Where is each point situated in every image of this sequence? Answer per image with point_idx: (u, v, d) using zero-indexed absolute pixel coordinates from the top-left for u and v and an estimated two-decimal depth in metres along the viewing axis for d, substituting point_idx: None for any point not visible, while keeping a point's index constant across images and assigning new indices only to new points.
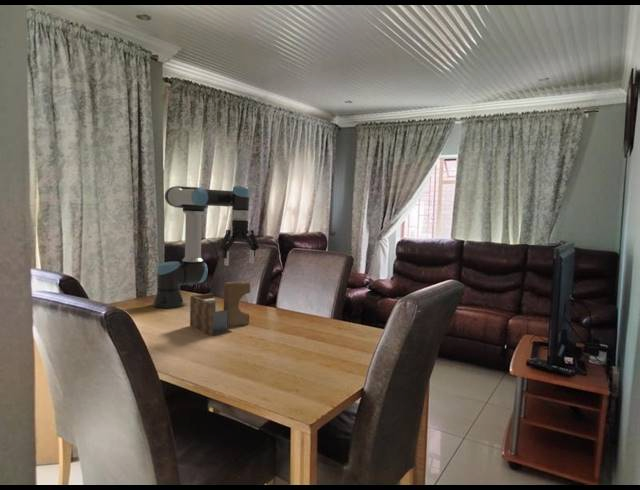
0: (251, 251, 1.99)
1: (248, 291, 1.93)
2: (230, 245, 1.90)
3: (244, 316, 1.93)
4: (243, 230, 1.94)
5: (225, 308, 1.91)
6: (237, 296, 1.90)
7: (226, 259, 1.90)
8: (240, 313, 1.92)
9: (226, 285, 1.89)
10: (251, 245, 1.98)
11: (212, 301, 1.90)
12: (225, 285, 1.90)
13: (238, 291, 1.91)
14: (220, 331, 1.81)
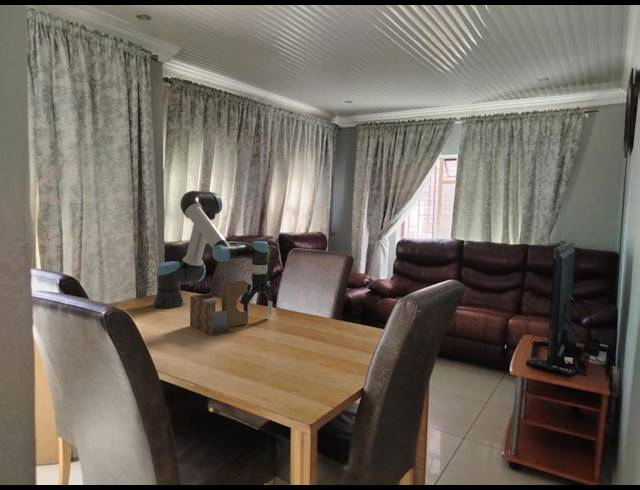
0: (269, 302, 2.06)
1: (246, 291, 1.92)
2: (250, 298, 1.97)
3: (242, 316, 1.93)
4: (262, 283, 2.01)
5: (223, 308, 1.90)
6: (234, 296, 1.89)
7: (246, 312, 1.97)
8: (238, 313, 1.91)
9: (223, 285, 1.88)
10: (270, 296, 2.05)
11: (212, 301, 1.90)
12: (222, 285, 1.89)
13: (236, 291, 1.90)
14: (220, 331, 1.81)
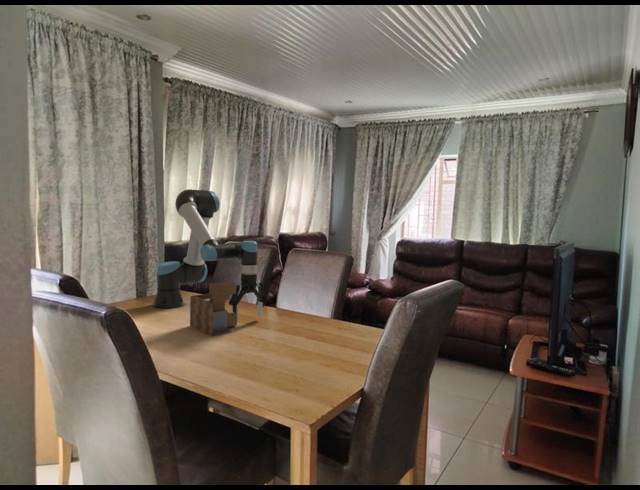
0: (260, 303, 2.02)
1: (234, 292, 1.88)
2: (239, 300, 1.93)
3: (231, 317, 1.88)
4: (252, 283, 1.97)
5: None
6: (222, 297, 1.85)
7: (236, 313, 1.93)
8: (227, 314, 1.87)
9: (211, 287, 1.84)
10: (260, 297, 2.01)
11: None
12: (210, 287, 1.85)
13: (224, 292, 1.85)
14: (220, 331, 1.81)
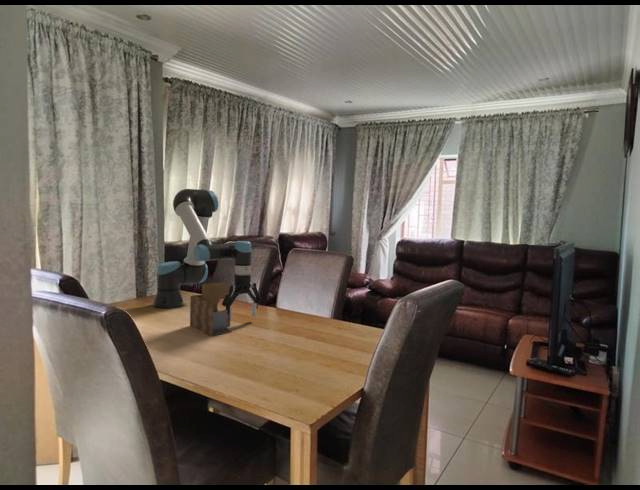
0: (254, 304, 2.00)
1: (227, 293, 1.85)
2: (233, 300, 1.91)
3: None
4: (245, 284, 1.95)
5: None
6: (215, 298, 1.83)
7: (229, 314, 1.90)
8: None
9: (203, 287, 1.82)
10: (254, 298, 1.98)
11: None
12: (202, 287, 1.83)
13: (216, 293, 1.83)
14: (220, 331, 1.81)
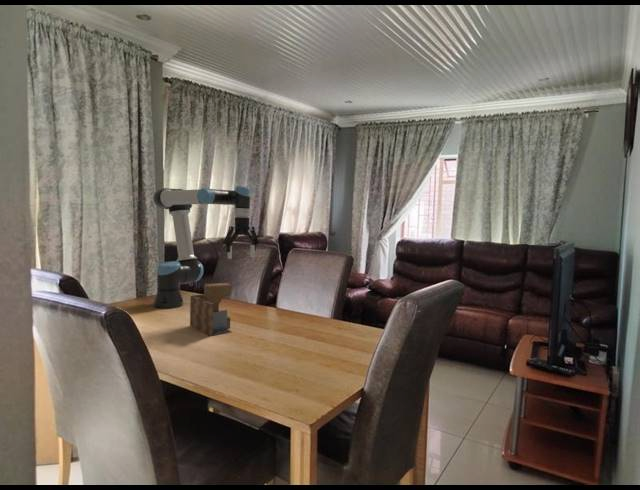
0: (252, 246, 2.17)
1: (229, 293, 1.86)
2: (233, 240, 2.08)
3: None
4: (245, 226, 2.12)
5: None
6: (217, 298, 1.84)
7: (229, 253, 2.08)
8: None
9: (205, 287, 1.83)
10: (252, 240, 2.16)
11: None
12: (205, 287, 1.84)
13: (218, 293, 1.84)
14: (220, 331, 1.81)
